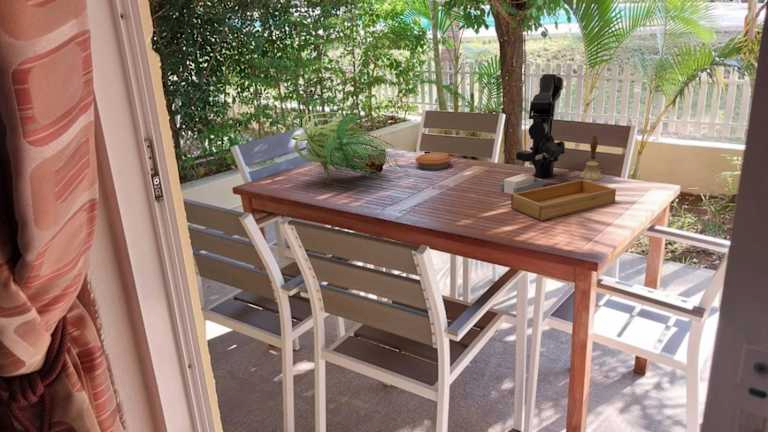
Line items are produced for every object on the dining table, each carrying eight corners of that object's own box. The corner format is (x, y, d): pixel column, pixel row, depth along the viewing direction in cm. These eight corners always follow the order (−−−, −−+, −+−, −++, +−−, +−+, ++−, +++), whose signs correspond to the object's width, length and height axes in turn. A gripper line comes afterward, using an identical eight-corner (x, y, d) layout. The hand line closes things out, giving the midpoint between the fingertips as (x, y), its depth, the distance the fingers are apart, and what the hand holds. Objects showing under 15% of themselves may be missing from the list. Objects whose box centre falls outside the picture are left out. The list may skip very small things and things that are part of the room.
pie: (454, 162, 260) (454, 150, 259) (449, 171, 246) (449, 159, 244) (418, 162, 264) (418, 150, 262) (412, 171, 250) (411, 159, 248)
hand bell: (606, 175, 228) (609, 134, 222) (598, 181, 222) (600, 138, 216) (585, 172, 233) (587, 132, 228) (576, 178, 227) (578, 136, 222)
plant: (416, 166, 226) (322, 131, 206) (368, 221, 247) (278, 194, 227) (402, 106, 248) (315, 69, 228) (358, 161, 269) (275, 131, 249)
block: (522, 186, 221) (523, 173, 220) (533, 189, 217) (534, 176, 216) (504, 192, 216) (504, 179, 214) (514, 195, 212) (515, 182, 210)
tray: (581, 193, 211) (582, 177, 209) (615, 204, 198) (616, 187, 196) (510, 210, 199) (510, 193, 197) (541, 223, 186) (541, 205, 184)
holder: (526, 183, 224) (526, 176, 223) (543, 189, 217) (543, 181, 216) (499, 190, 218) (499, 182, 217) (515, 196, 210) (515, 188, 209)
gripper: (538, 141, 204) (536, 185, 209) (577, 132, 213) (575, 175, 218) (515, 136, 213) (514, 178, 218) (553, 128, 222) (552, 169, 227)
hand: (539, 175), depth 220 cm, fingers closed
